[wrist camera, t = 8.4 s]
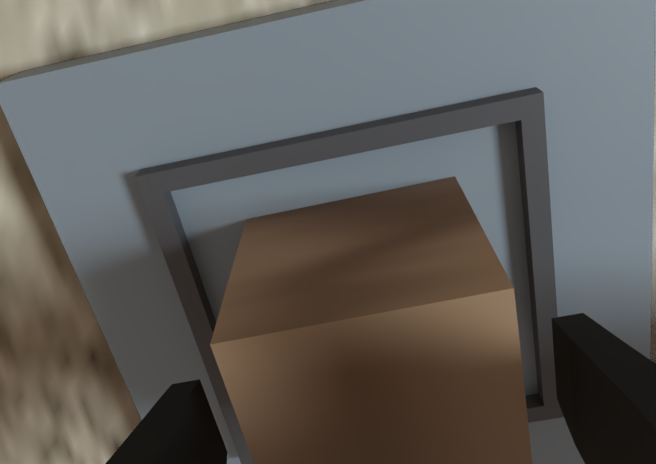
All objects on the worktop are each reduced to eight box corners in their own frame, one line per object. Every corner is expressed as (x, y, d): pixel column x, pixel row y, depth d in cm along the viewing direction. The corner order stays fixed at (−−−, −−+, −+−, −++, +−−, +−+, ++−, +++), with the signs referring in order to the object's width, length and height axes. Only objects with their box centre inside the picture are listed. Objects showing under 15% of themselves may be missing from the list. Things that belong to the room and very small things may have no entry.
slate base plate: (624, -66, 13) (669, -66, 12) (626, 419, 19) (656, 469, 18) (22, 70, 15) (-21, 90, 13) (198, 486, 21) (185, 539, 19)
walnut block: (455, 176, 14) (513, 288, 10) (479, 349, 16) (537, 507, 12) (246, 219, 15) (209, 344, 10) (296, 382, 17) (284, 545, 12)
